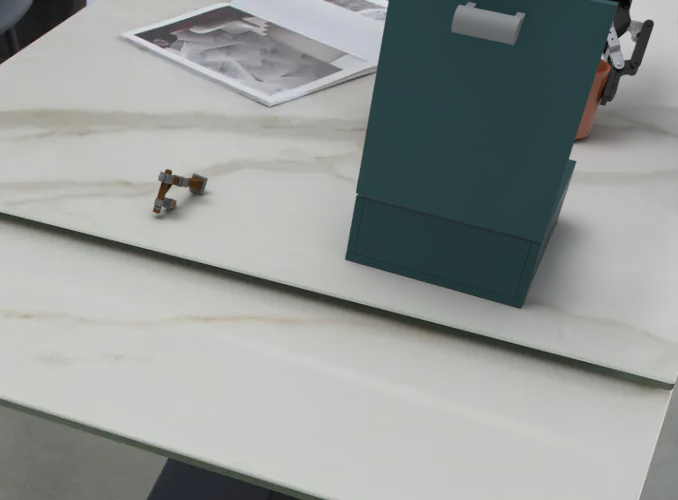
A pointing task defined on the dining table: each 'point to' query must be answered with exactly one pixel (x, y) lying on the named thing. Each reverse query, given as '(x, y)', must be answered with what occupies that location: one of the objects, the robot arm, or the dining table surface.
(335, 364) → the dining table surface
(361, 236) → the teal box base
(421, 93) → the lid
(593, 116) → the cup
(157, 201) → the brown grey bent piece
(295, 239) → the dining table surface
